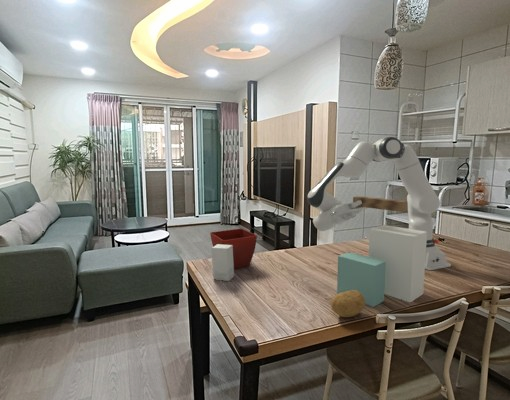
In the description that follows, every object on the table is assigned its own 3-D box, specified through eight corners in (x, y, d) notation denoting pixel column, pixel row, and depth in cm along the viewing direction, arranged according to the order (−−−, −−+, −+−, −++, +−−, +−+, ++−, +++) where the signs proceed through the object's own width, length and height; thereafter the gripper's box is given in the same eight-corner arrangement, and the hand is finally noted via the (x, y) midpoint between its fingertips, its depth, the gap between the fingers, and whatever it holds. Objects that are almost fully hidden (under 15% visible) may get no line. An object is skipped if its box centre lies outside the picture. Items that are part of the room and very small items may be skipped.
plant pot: (223, 273, 154) (222, 240, 152) (210, 262, 171) (209, 232, 169) (258, 267, 163) (257, 235, 161) (242, 257, 180) (241, 228, 177)
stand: (381, 281, 143) (383, 224, 140) (423, 293, 129) (427, 231, 126) (367, 288, 135) (369, 228, 132) (410, 302, 122) (414, 236, 118)
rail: (352, 205, 141) (353, 196, 141) (357, 204, 144) (358, 196, 143) (402, 211, 125) (402, 201, 124) (406, 210, 127) (407, 201, 127)
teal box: (348, 288, 135) (349, 252, 133) (383, 300, 123) (385, 261, 121) (337, 293, 130) (338, 255, 128) (373, 307, 118) (375, 265, 116)
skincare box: (234, 277, 150) (233, 244, 148) (228, 282, 143) (228, 248, 141) (218, 275, 152) (217, 243, 150) (212, 279, 146) (211, 247, 144)
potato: (322, 315, 112) (323, 293, 111) (349, 304, 120) (349, 284, 119) (344, 327, 104) (345, 304, 103) (371, 315, 112) (372, 293, 111)
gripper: (325, 209, 143) (348, 196, 133) (350, 204, 156) (373, 192, 146) (330, 222, 141) (355, 210, 131) (355, 216, 154) (379, 205, 145)
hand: (365, 201), depth 139 cm, fingers closed on rail, 4 cm apart
